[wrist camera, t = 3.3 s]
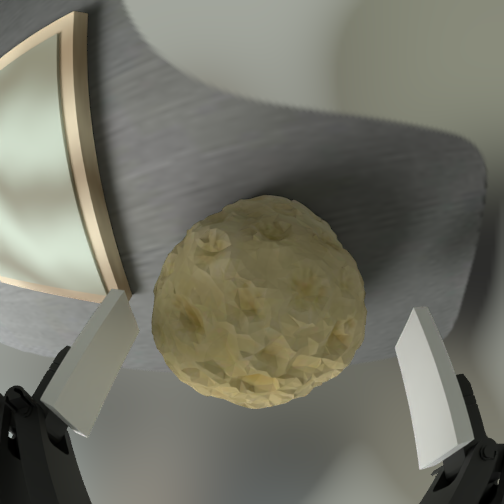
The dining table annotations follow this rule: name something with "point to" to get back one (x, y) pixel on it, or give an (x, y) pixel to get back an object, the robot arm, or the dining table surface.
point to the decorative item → (259, 304)
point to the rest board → (53, 171)
